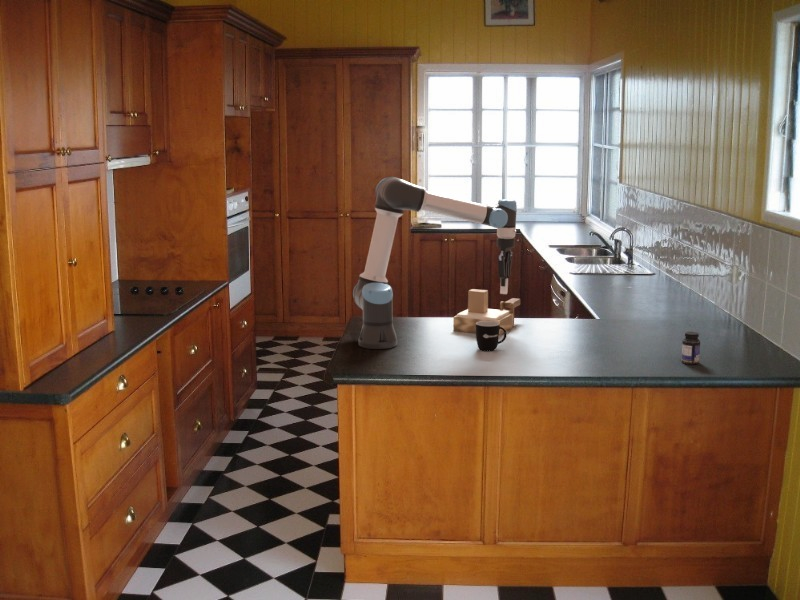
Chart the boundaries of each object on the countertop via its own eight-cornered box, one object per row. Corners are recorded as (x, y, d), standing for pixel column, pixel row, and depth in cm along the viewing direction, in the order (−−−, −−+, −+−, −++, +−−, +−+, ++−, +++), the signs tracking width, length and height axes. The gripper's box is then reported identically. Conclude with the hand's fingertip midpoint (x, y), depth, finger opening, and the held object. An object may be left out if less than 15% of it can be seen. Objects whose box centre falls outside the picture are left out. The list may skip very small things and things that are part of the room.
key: (504, 308, 374) (504, 302, 374) (513, 303, 384) (513, 297, 383) (512, 308, 373) (512, 303, 372) (521, 304, 382) (521, 298, 382)
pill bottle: (695, 360, 321) (697, 330, 318) (701, 364, 315) (703, 334, 312) (678, 360, 320) (680, 330, 318) (684, 365, 314) (686, 334, 312)
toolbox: (453, 330, 366) (453, 306, 364) (470, 321, 382) (470, 298, 380) (498, 335, 357) (499, 310, 355) (514, 326, 373) (514, 302, 371)
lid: (457, 319, 365) (457, 292, 363) (471, 312, 378) (472, 286, 376) (495, 323, 357) (496, 296, 355) (509, 315, 371) (509, 289, 369)
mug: (479, 353, 332) (480, 326, 330) (472, 347, 340) (472, 321, 338) (510, 351, 334) (510, 324, 332) (502, 345, 343) (502, 319, 341)
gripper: (509, 239, 356) (506, 297, 361) (520, 236, 368) (517, 292, 372) (491, 238, 360) (489, 295, 364) (503, 235, 371) (500, 290, 376)
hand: (503, 293), depth 368 cm, fingers closed
